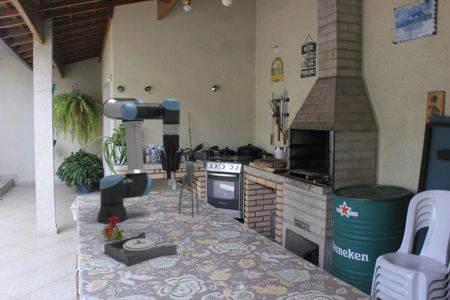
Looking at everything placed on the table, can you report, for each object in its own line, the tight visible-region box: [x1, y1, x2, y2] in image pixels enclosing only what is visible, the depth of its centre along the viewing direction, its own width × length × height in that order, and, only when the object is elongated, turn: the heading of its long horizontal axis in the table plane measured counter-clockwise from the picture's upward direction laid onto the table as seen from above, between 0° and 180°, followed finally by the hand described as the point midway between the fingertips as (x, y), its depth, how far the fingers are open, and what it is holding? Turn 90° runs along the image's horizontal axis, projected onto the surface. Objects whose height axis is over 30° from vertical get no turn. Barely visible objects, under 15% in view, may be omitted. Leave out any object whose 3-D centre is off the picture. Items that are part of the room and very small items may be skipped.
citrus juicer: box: [178, 161, 200, 218], centre depth 210 cm, size 11×10×30 cm
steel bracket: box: [104, 231, 178, 267], centre depth 153 cm, size 24×21×4 cm
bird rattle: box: [102, 216, 124, 242], centre depth 168 cm, size 6×11×9 cm
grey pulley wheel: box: [123, 238, 156, 255], centre depth 153 cm, size 13×13×5 cm
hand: (171, 185), depth 171 cm, fingers closed
